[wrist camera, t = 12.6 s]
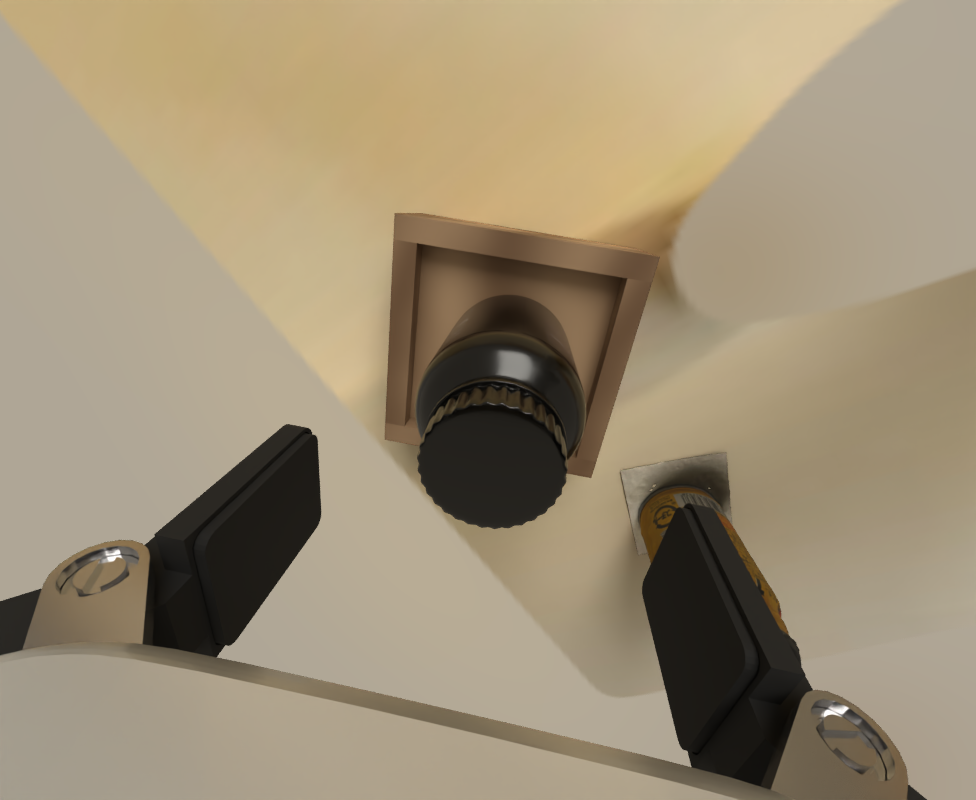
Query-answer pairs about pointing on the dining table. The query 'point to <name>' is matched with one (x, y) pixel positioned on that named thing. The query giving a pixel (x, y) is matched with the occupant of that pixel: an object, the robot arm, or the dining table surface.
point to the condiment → (676, 490)
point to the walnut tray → (512, 271)
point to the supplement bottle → (499, 414)
